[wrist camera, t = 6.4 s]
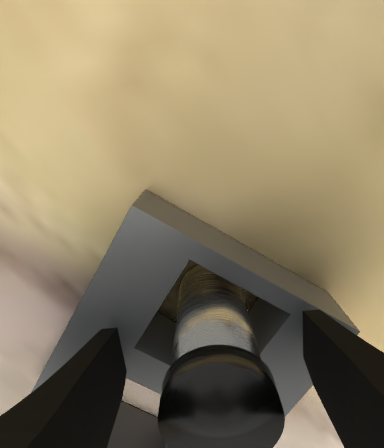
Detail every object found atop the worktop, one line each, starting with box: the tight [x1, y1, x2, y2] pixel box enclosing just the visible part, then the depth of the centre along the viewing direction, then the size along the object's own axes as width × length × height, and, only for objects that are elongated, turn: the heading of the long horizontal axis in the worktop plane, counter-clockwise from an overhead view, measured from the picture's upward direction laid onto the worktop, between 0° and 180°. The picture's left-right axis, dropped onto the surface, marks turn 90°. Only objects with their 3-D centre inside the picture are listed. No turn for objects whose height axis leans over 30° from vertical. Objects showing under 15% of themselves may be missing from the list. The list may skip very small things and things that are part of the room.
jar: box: [158, 265, 285, 448], centre depth 12 cm, size 3×3×7 cm
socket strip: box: [31, 190, 360, 448], centre depth 14 cm, size 10×12×3 cm
